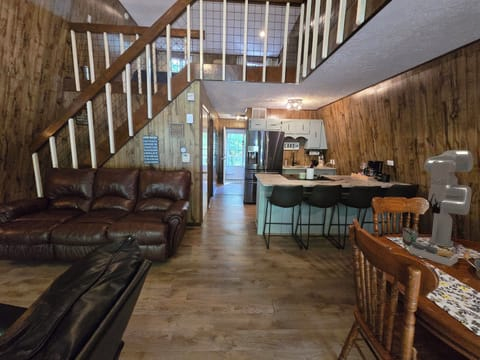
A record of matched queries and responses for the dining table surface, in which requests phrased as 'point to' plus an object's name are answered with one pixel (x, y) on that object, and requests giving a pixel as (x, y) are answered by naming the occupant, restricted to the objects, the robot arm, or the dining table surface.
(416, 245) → the rocker
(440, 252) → the rocker
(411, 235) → the food container
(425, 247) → the rocker
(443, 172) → the robot arm
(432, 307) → the dining table surface
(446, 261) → the grey tray
